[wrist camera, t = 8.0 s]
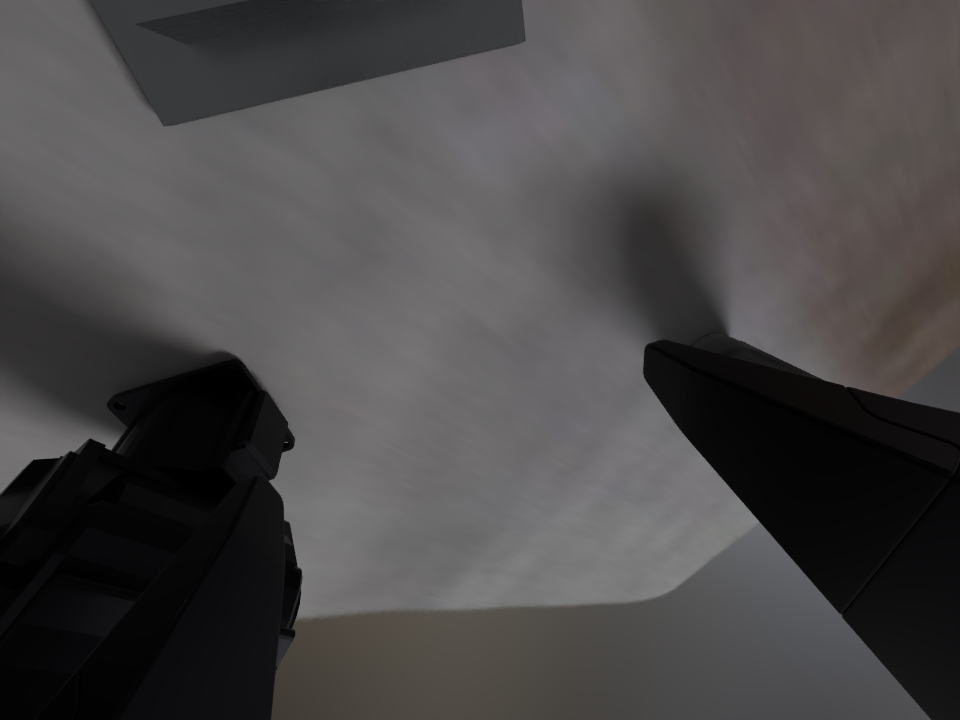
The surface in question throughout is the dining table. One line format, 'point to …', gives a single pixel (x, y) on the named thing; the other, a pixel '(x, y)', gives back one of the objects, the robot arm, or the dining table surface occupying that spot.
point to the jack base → (290, 45)
